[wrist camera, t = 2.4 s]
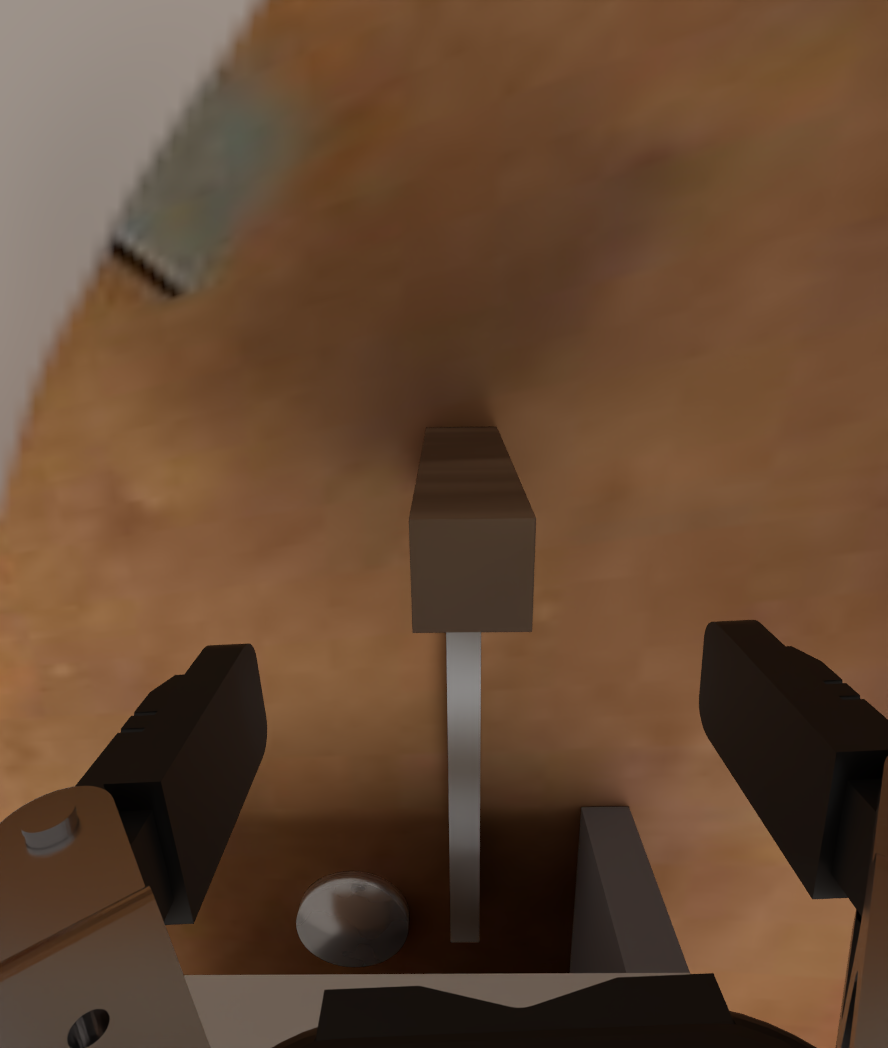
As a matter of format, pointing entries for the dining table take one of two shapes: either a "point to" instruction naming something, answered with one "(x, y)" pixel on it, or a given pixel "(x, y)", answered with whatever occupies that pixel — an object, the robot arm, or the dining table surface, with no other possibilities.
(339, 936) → the ball
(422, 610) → the blade tool
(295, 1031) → the cabinet
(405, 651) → the dining table surface
